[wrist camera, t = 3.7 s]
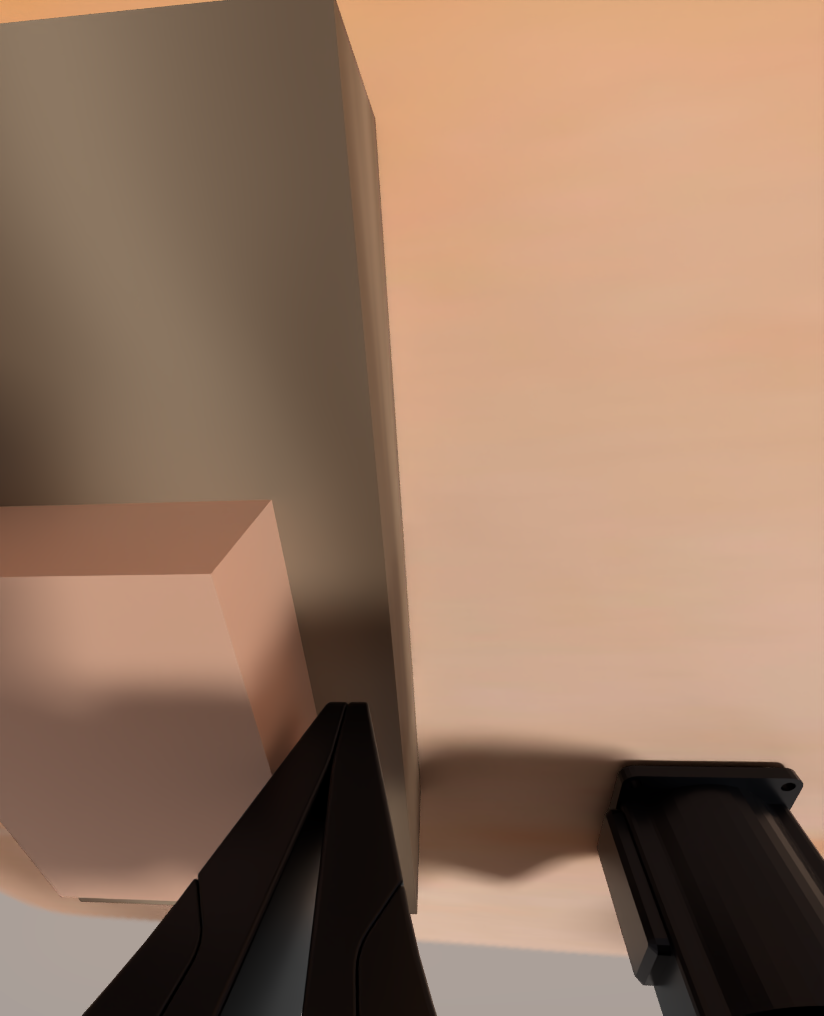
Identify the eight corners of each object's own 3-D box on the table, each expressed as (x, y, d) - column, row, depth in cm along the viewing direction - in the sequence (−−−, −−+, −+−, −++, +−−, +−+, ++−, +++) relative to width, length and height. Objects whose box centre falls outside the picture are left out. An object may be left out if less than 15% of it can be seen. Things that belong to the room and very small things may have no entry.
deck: (375, 119, 9) (332, -11, 5) (420, 792, 18) (417, 914, 15) (-170, 164, 9) (-546, 80, 6) (148, 787, 19) (80, 901, 15)
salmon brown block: (271, 499, 8) (211, 573, 6) (334, 795, 12) (311, 905, 10) (-31, 507, 8) (-193, 580, 6) (126, 791, 12) (60, 897, 10)
